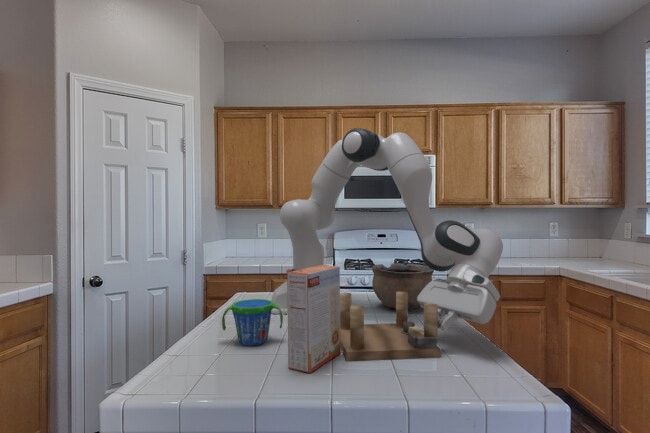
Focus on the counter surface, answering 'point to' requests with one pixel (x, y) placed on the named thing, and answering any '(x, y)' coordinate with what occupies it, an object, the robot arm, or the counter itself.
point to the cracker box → (313, 317)
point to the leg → (425, 323)
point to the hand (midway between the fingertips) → (438, 327)
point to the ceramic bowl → (400, 282)
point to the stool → (381, 335)
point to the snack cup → (252, 320)
